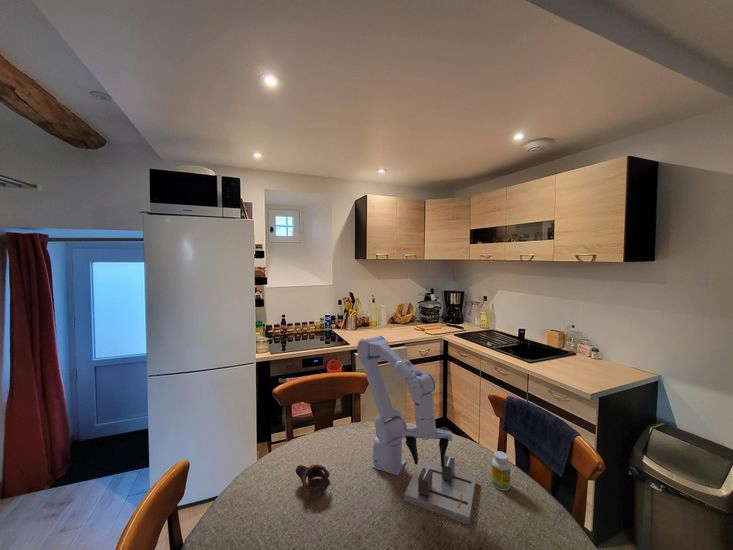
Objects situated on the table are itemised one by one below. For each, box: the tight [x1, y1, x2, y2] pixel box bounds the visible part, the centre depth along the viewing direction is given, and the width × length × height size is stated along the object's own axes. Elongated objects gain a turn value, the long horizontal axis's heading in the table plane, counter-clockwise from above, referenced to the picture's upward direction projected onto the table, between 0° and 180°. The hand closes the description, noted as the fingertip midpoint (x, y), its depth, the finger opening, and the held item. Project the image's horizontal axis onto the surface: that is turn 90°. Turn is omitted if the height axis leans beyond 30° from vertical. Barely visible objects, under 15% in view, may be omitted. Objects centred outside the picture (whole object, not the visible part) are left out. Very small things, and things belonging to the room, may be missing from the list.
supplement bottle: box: [491, 450, 511, 491], centre depth 92 cm, size 5×5×10 cm
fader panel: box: [403, 459, 477, 525], centre depth 90 cm, size 18×17×2 cm
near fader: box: [418, 468, 433, 496], centre depth 88 cm, size 3×5×4 cm, turn 154°
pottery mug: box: [295, 464, 332, 501], centre depth 90 cm, size 12×10×8 cm
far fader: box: [442, 455, 456, 481], centre depth 94 cm, size 3×5×4 cm, turn 154°
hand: (429, 463), depth 87 cm, fingers open, 7 cm apart
